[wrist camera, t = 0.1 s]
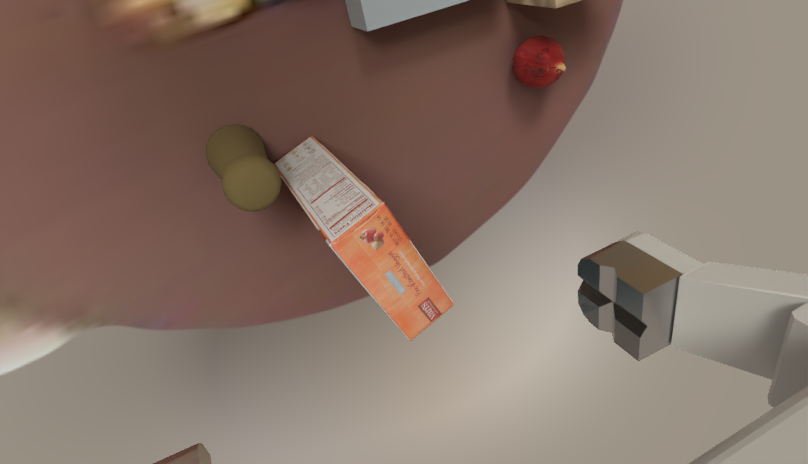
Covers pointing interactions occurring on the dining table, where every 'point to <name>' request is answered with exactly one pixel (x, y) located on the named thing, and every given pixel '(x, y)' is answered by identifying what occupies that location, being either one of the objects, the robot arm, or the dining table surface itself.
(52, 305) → the dining table surface
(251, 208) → the olive double rounded piece
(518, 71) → the red round piece
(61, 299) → the dining table surface
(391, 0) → the light grey rectangular block
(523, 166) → the dining table surface
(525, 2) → the tray
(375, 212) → the cracker box
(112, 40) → the dining table surface
